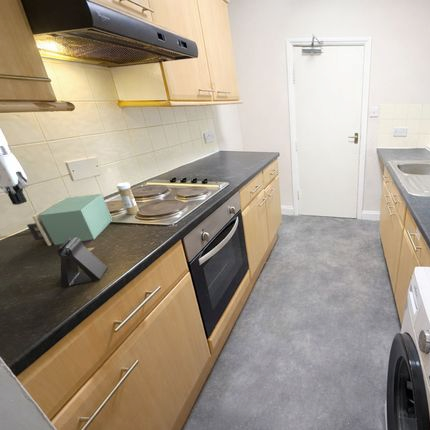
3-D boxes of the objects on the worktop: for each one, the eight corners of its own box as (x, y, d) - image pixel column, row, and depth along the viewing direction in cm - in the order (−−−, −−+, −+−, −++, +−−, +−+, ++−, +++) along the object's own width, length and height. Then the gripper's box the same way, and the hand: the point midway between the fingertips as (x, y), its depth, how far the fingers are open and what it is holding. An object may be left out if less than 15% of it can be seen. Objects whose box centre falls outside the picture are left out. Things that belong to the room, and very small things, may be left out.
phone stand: (108, 268, 80) (92, 233, 75) (100, 280, 75) (82, 244, 70) (72, 275, 78) (53, 240, 72) (61, 288, 72) (40, 251, 67)
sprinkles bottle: (141, 211, 119) (131, 182, 113) (132, 215, 115) (121, 186, 109) (134, 210, 120) (123, 181, 114) (124, 214, 116) (113, 185, 110)
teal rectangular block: (54, 245, 94) (38, 215, 88) (78, 224, 108) (66, 197, 103) (94, 239, 97) (80, 210, 91) (112, 220, 111) (101, 193, 106)
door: (35, 247, 92) (18, 217, 87) (65, 225, 107) (52, 199, 102) (50, 245, 93) (34, 216, 88) (77, 224, 108) (65, 198, 103)
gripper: (-42, 153, 84) (-12, 206, 92) (1, 154, 83) (28, 208, 91) (-14, 148, 91) (12, 198, 98) (27, 149, 90) (50, 200, 98)
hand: (20, 203), depth 95 cm, fingers closed
